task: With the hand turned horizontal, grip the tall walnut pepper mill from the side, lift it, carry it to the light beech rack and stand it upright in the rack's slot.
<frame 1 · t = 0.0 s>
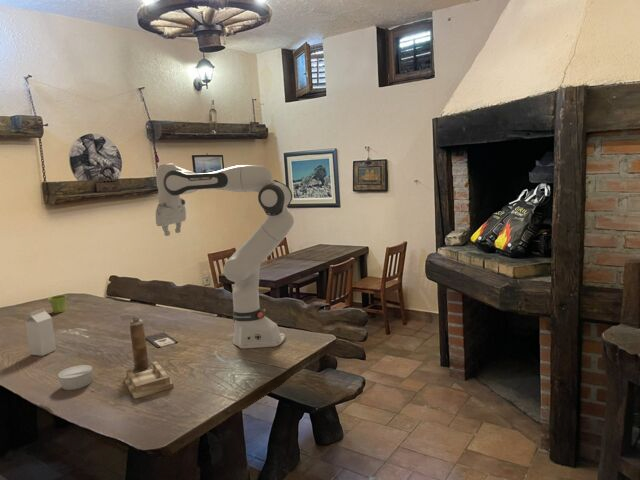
hand: (172, 234, 202), 48 cm above the table, tool pointing down, fingers open, 8 cm apart
milk carton: (43, 353, 204), on the table
ramekin: (77, 385, 169), on the table
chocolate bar: (161, 341, 211), on the table
plant pot: (59, 312, 271), on the table
rack: (148, 383, 166), on the table
pepper mill: (141, 367, 181), on the table
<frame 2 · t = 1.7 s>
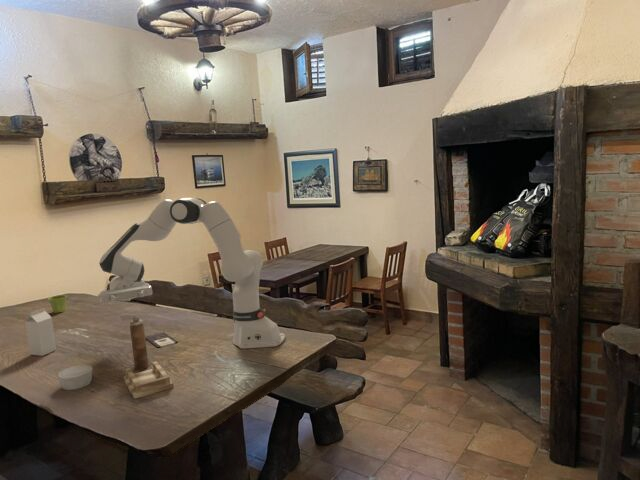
hand: (129, 297, 188), 25 cm above the table, tool horizontal, fingers open, 8 cm apart
nothing on the table moved.
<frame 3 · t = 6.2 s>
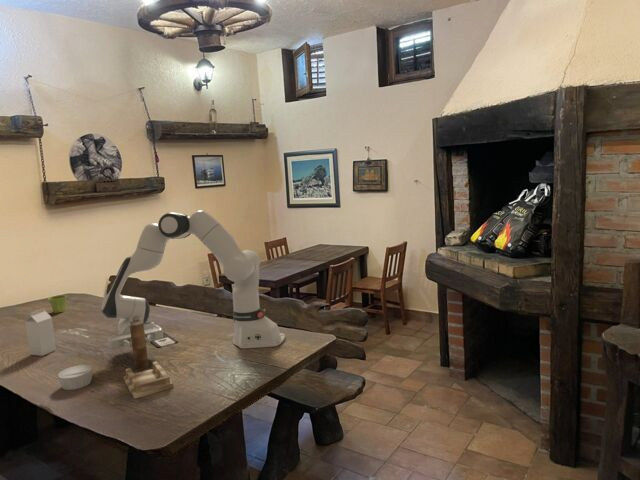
hand: (139, 342, 179), 10 cm above the table, tool horizontal, fingers closed on pepper mill, 5 cm apart
pepper mill: (141, 367, 181), on the table, touching gripper
everything else where it was.
when the fingers open (12 cm above the table, at t = 10.8 s): pepper mill stays where it is, resting on rack.
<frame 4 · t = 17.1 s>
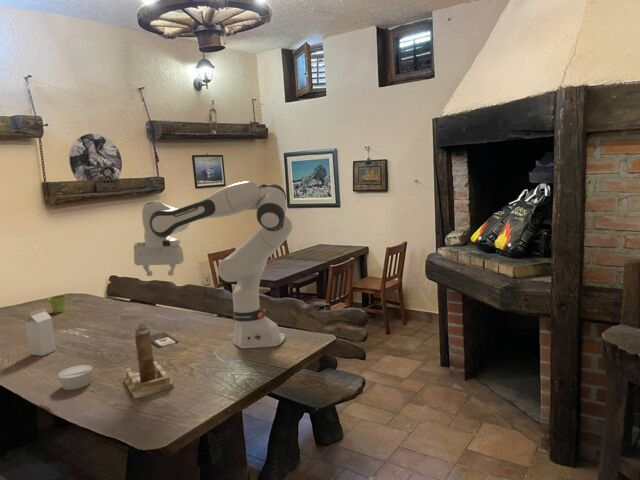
hand: (160, 275, 190), 33 cm above the table, tool pointing down, fingers open, 8 cm apart
pepper mill: (147, 379, 166), point 2 cm above the table, touching rack
everything else where it was.
at the end: pepper mill 0.0 cm from the rack (horizontally); pepper mill tilted 1°; pepper mill touching rack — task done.
